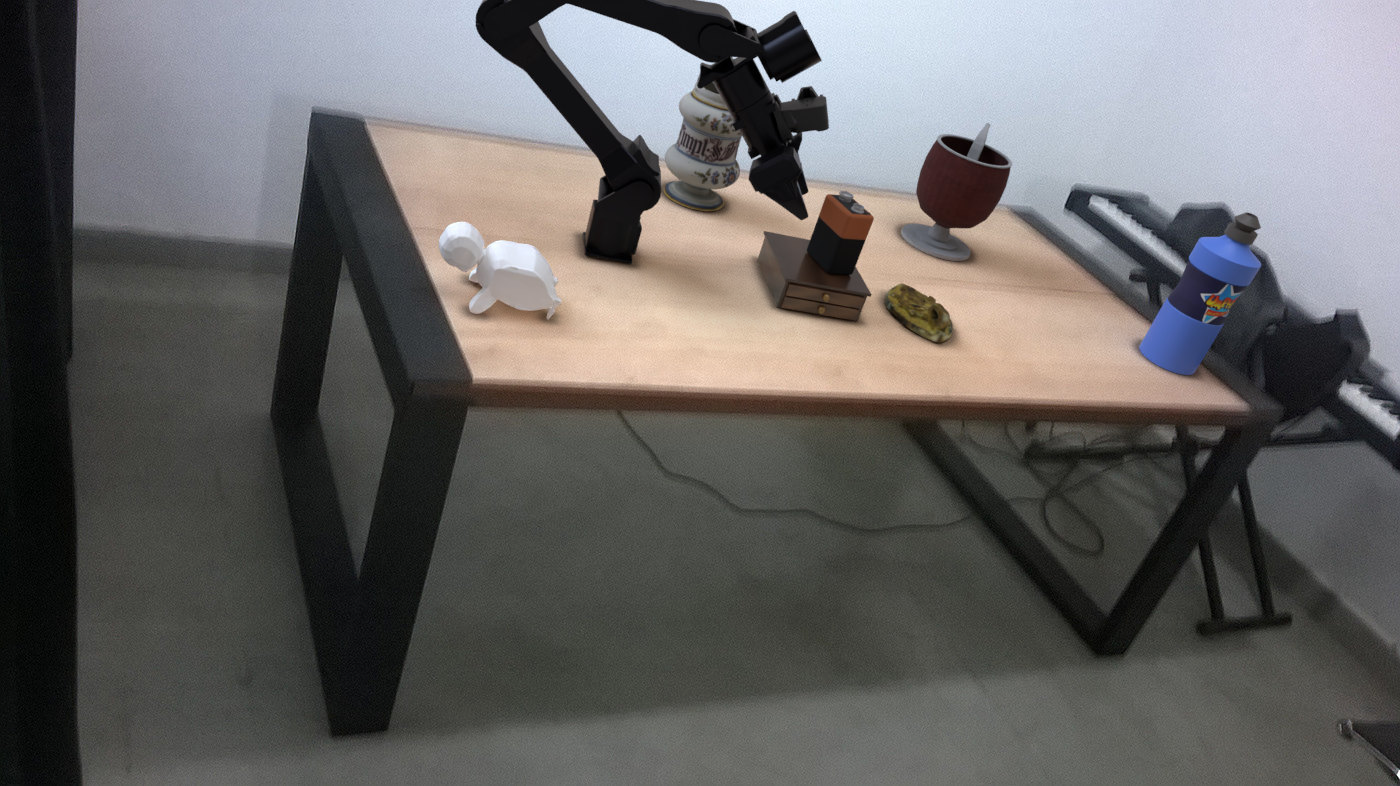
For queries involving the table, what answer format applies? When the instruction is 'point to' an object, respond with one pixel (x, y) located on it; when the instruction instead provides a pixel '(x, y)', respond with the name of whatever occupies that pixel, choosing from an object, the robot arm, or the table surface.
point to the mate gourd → (957, 192)
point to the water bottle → (1203, 298)
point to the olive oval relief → (919, 313)
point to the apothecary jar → (703, 151)
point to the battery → (839, 233)
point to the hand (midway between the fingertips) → (805, 205)
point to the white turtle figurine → (500, 270)
